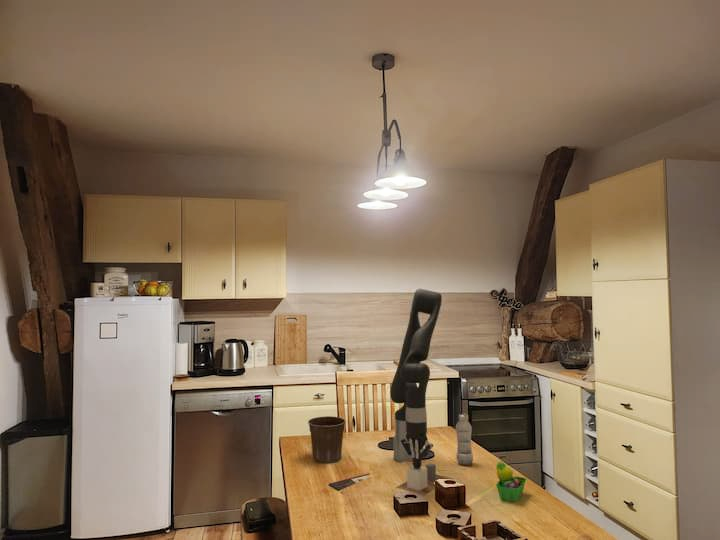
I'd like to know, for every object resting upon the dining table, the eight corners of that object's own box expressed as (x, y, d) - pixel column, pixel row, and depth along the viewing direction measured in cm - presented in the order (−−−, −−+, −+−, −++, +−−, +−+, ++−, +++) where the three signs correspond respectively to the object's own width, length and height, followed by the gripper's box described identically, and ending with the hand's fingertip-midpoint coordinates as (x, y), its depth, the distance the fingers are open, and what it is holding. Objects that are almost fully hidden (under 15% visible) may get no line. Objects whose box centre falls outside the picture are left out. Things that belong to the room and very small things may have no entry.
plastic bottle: (473, 467, 206) (472, 416, 206) (456, 466, 207) (455, 416, 208) (473, 462, 212) (471, 413, 213) (456, 461, 213) (455, 412, 214)
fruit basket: (518, 504, 169) (517, 470, 169) (492, 499, 174) (491, 465, 174) (527, 493, 179) (526, 460, 179) (501, 488, 183) (501, 456, 184)
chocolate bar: (328, 483, 189) (368, 473, 199) (328, 486, 189) (368, 475, 199) (341, 491, 181) (382, 480, 191) (341, 494, 181) (382, 482, 191)
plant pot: (351, 462, 214) (351, 423, 215) (314, 467, 208) (314, 427, 209) (338, 451, 230) (338, 414, 230) (304, 455, 224) (303, 418, 224)
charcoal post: (426, 479, 189) (425, 465, 190) (429, 477, 191) (429, 463, 192) (432, 481, 188) (431, 466, 188) (435, 479, 190) (435, 464, 190)
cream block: (407, 487, 182) (406, 468, 182) (415, 483, 186) (414, 464, 186) (419, 490, 179) (419, 471, 179) (427, 486, 183) (427, 467, 183)
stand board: (424, 498, 175) (424, 495, 175) (395, 490, 182) (395, 487, 183) (453, 481, 190) (453, 478, 190) (426, 474, 198) (425, 471, 198)
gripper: (395, 418, 185) (396, 467, 184) (426, 424, 176) (427, 475, 176) (406, 414, 191) (407, 461, 190) (437, 419, 182) (438, 469, 181)
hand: (417, 468), depth 183 cm, fingers closed
